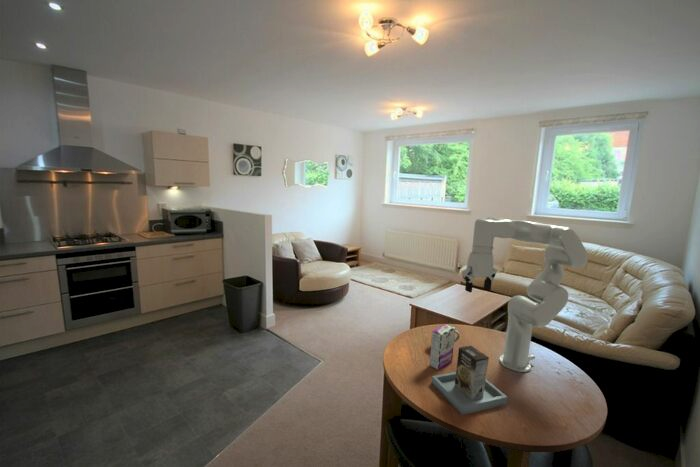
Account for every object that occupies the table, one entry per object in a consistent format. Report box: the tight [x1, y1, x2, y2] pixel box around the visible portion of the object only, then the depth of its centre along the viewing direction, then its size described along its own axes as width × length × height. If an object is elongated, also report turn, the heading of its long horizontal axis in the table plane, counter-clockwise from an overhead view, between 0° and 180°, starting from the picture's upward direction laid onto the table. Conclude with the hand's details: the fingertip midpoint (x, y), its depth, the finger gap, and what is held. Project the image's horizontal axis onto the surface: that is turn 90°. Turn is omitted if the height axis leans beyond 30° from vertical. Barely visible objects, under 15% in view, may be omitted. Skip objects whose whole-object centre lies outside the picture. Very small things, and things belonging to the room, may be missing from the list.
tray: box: [431, 371, 509, 416], centre depth 118 cm, size 20×18×3 cm
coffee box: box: [455, 345, 490, 400], centre depth 117 cm, size 9×6×16 cm
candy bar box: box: [429, 323, 456, 371], centre depth 136 cm, size 11×5×16 cm, turn 131°
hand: (477, 290), depth 128 cm, fingers open, 9 cm apart
